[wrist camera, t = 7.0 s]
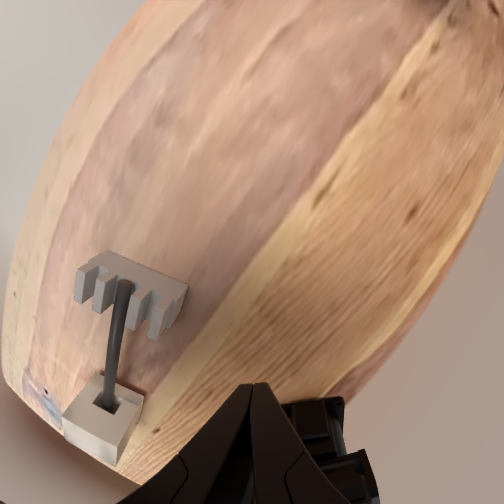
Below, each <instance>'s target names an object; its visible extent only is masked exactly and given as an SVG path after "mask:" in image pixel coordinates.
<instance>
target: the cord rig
mask: <svg viewBox="0 0 504 504" xmlns="http://www.w3.org/2000/svg"><path fill="white" fill-rule="evenodd" d="M187 289H188V284H185V283H183V282H180V281H178V280H175V279H173V278H171V277H168V276H166V275H163V274H161V273H159V272H156V271H154V270H152V269H149V268H147V267H145V266H143V265H140V264H138V263H136V262H133V261H131V260H129V259H127V258H125V257H122V256H120V255H118V254H116V253H113V252H111V251H109V250H107V251H105V252H103V253H101V254H99V255H97V256H95V257H93V258H91V259H89V261H88V263H87V264H85V265H83V266H82V267H80V268H78V269H77V274H76V282H75V292H74V300H75V301H76V302H78V303H80V304H83V303H84V302H85V301H87V300H88V299H89V298H91V297H92V296H93V295H94V298H93V305H92V310H93V311H95V312H97V313H99V314H101V313H103V312H104V311H105V310H106V309H107V308H108V307H109V306H111V305H112V304H114V307H113V313H112V319H111V325H110V332H109V339H108V347H107V355H106V365H105V375H104V387H103V401H102V409H103V410H105V411H107V412H109V413H111V414H112V412H113V402H114V393H115V384H116V376H117V369H118V362H119V355H120V349H121V343H122V337H123V331H124V326H125V327H126V328H128V329H130V330H133V331H135V330H136V328H137V327H138V326H139V325H140V324H141V322H142V321H143V320H144V319H146V320H148V321H150V325H149V329H148V333H147V337H148V338H150V339H152V340H154V341H157V340H158V339H159V337H160V336H161V334H162V332H163V331H164V329H165V328H166V329H169V328H170V327H171V325H172V324H173V322H174V321H175V319H176V317H177V316H178V314H179V313H180V310H181V307H182V304H183V301H184V298H185V295H186V292H187ZM127 311H128V312H127ZM126 315H127V317H126ZM125 320H126V322H125Z"/></svg>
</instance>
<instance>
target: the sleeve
mask: <svg viewBox="0 0 504 504" xmlns="http://www.w3.org/2000/svg"><path fill="white" fill-rule="evenodd" d="M103 387H104V376H102V375H100V374H98V373H95V374H94V375H93V377H92V378H91V379H90V380H89V381H88V383H87V384H86V385H85V386H84V388H83V389H82V390H81V391H80V393H79V394H78V395H77V397H76V398H75V399H74V400H73V402H72V403H71V404H70V405H69V407H68V408H67V409H66V411H65V412H64V413H63V414H62V416H61V418H62V425H63V431H64V437H65V440H67V441H68V442H70V443H72V444H73V445H75V446H77V447H79V448H80V449H82V450H84V451H86V452H87V453H89V454H91V455H93V456H95V457H97V458H99V459H100V460H102V461H104V462H106V463H108V464H110V465H112V466H115V467H116V465H117V463H118V461H119V459H120V457H121V455H122V453H123V451H124V449H125V447H126V445H127V443H128V441H129V439H130V437H131V435H132V433H133V431H134V429H135V427H136V425H137V423H138V421H139V418H140V414H141V409H142V404H143V400H144V396H142V395H140V394H138V393H136V392H134V391H132V390H129V389H127V388H125V387H123V386H121V385H119V384H117V383H116V384H115V393H114V402H113V412H112V414H111V413H109V412H107V411H105V410H103V409H102V401H103Z"/></svg>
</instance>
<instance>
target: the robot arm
mask: <svg viewBox="0 0 504 504" xmlns="http://www.w3.org/2000/svg"><path fill="white" fill-rule="evenodd" d="M338 402H340V403H338ZM344 405H345V403H344V399H343V398H342V397H337V398H331V399H325V400H319V401H312V402H304V403H297V404H288V405H280V404H279V402H278V400H277V398H276V397H275V395H274V393H273V391H272V390H271V388H270V386H269V384H268V383H267V382H260V383H255V384H254V385H253V384H252V383H249V384H240V385H239V386H238V387H237V388H236V389H235V390H234V392H233V393H232V394H231V395H230V396H229V397H228V399H227V400H226V401H225V402H224V403H223V404H222V406H221V407H220V408H219V409H218V410H217V411H216V412H215V414H214V415H213V416H212V417H211V418H210V419H209V420H208V421H207V422H206V424H205V425H204V426H203V427H202V428H201V429H200V430H199V431H198V432H197V433H196V434H195V436H194V437H193V438H192V439H191V440H190V441H189V442H188V443H187V444H186V445H185V446H184V447H183V448H182V449H181V450H180V451H179V453H178V454H179V455H178V454H176V455H175V456H174V458H173V459H172V460H171V461H170V462H169V463H168V464H166V465H165V466H164V467H163V468H162V469H161V470H160V471H159V472H158V473H157V474H155V475H154V476H153V477H152V478H151V479H149V480H148V481H147V482H146V483H144V484H143V485H142V486H140V487H139V488H137V489H136V490H135V491H133V492H132V493H131V494H129V495H128V496H126V497H125V498H123V499H122V500H121V501H119V502H118V503H116V504H380V499H379V493H378V488H377V484H376V480H375V477H374V474H373V472H372V468H371V466H370V463H369V460H368V457H367V454H366V451H365V449H361V450H358V452H354V453H350V454H347V452H346V448H345V443H344V439H343V422H344ZM0 504H5V503H4V502H2V501H0Z"/></svg>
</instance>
